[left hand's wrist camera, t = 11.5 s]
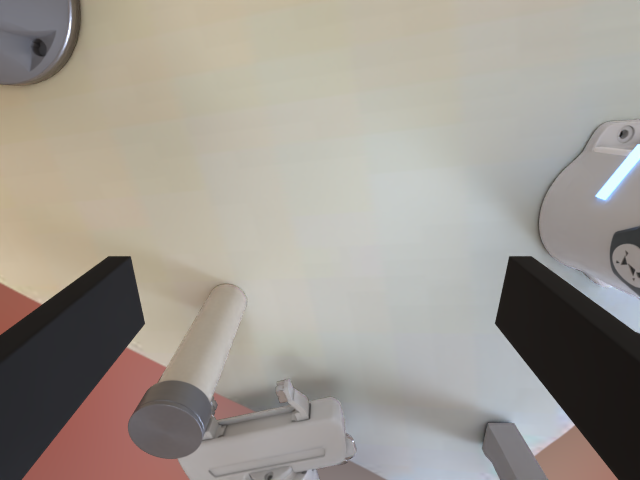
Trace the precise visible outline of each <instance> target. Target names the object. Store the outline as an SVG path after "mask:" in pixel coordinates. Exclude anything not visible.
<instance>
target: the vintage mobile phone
mask: <svg viewBox="0 0 640 480" xmlns="http://www.w3.org/2000/svg"><path fill="white" fill-rule="evenodd" d="M482 450H483V452H484V454H485V455H486V456H487V458H488V459H489V460H490V461H491V462H492V464H493V466H494V468H495V470H496V472H497V474H498V476H499V478H500V480H548V478H547V477H546V475H545V473H544V472H543V470H542V469H541V467H540V465H539V464H538V462H537V460H536V459H535V457H534V455H533V454H532V452H531V450H530V449H529V447H528V445H527V444H526V442H525V440H524V439H523V437H522V435H521V434H520V432H519V430H518V429H517V427H516V425H515V424H514V423H488V424H487V428H486V433H485V437H484V441H483V446H482Z"/></svg>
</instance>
